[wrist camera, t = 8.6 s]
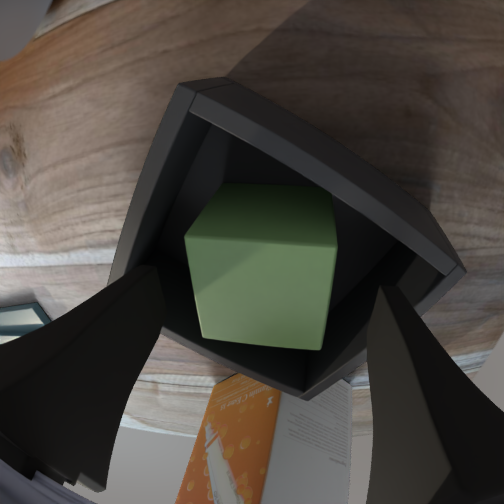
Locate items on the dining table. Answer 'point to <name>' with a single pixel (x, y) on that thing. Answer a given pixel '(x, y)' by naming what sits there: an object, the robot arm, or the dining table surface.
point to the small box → (271, 447)
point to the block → (264, 264)
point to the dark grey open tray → (278, 173)
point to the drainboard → (20, 321)
